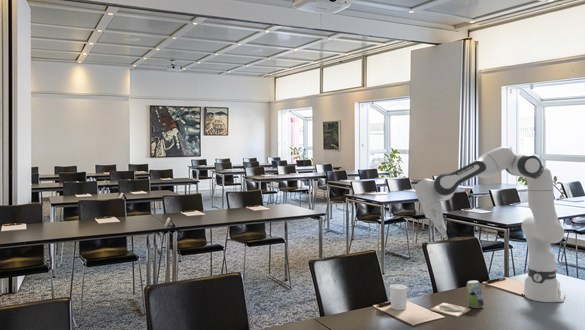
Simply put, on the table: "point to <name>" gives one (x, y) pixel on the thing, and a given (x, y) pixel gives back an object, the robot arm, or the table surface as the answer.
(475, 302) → the beverage can
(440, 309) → the birch mat
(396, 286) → the white cup
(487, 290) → the table surface
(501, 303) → the table surface
